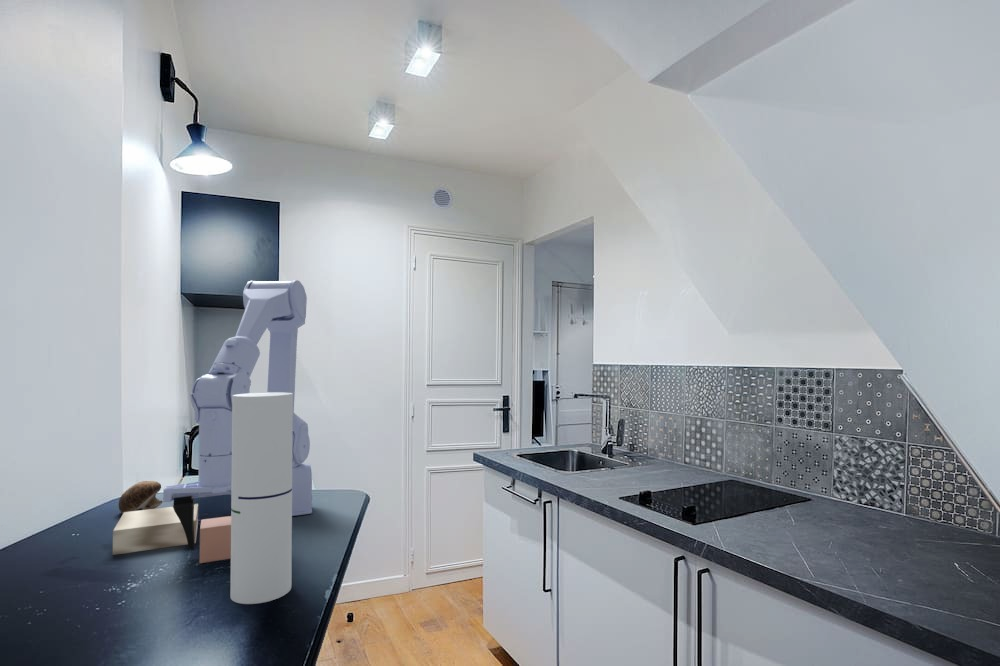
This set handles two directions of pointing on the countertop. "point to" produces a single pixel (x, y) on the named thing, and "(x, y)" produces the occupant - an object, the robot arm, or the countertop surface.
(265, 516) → the cylindrical container
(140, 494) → the mushroom
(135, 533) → the birch block
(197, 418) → the robot arm
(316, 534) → the countertop surface
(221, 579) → the countertop surface
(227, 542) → the terracotta cube
